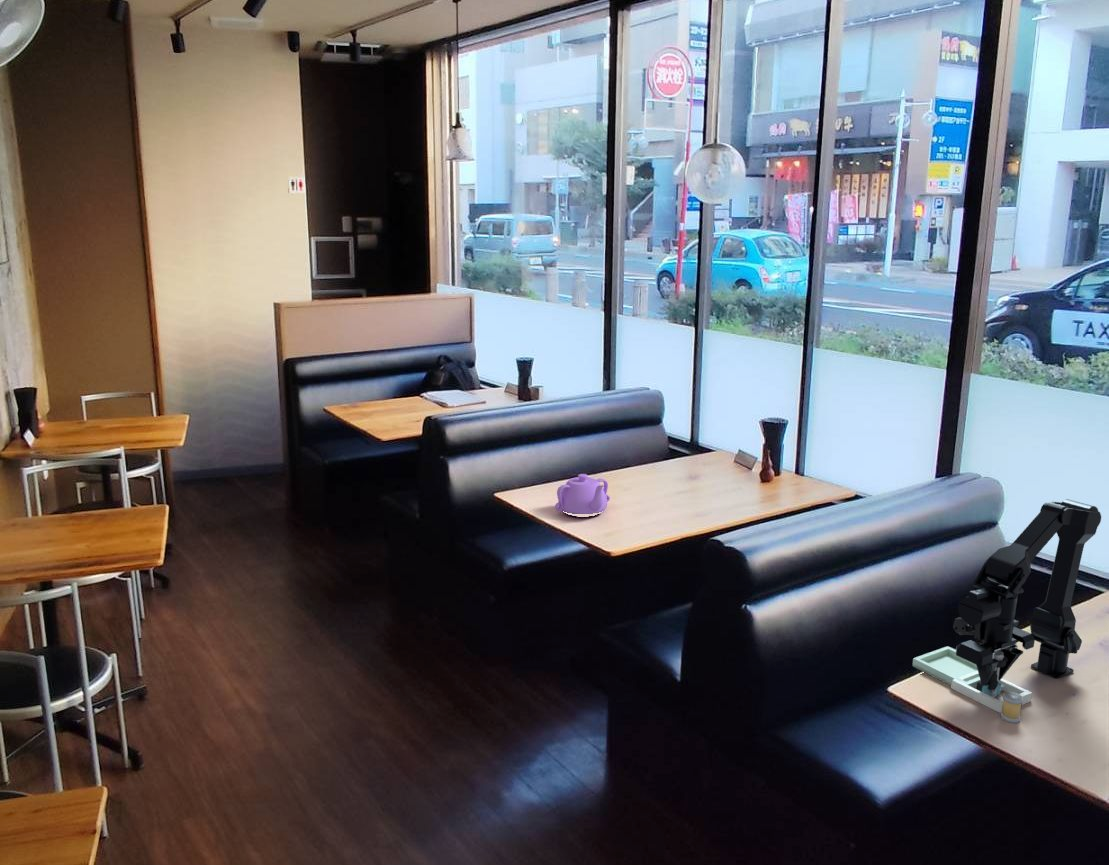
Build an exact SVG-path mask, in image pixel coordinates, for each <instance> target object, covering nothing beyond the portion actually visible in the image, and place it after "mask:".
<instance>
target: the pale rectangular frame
mask: <svg viewBox="0 0 1109 865" xmlns="http://www.w3.org/2000/svg"><path fill="white" fill-rule="evenodd" d="M977 677H979V673H978V670H977V671H975V672H972V673H969V674H967V675H964V676H961V677H959V678H960V679H962V680H964V681H966V682H967V681H969V680H972V679H974V678H977ZM998 683H1000V684H1001V685H1003V686H1004V687H1001V689H1003V691H1004V693H1005V692H1014V693H1017V694H1019V695H1021V696H1022V697H1023V702H1022V703H1021V707H1022V706H1023V705H1025V704H1027V703H1029V702H1032V697H1033V696H1032V695H1033V692H1032V691H1030V690H1028V689H1025V688H1023V687H1021V686H1018V685H1016V684H1014V683H1012V682H1010V681H1009V680H1006V679H1004V678H1002V679H1001V680H999V681H998ZM950 687H951V688H950V689H952V690H954V691H955V692H957V693H960V694H962V695H964V696H965V697H967V698H970V699H972V700H973V701H976V702H977V703H980V704H982V705H983V706H985V707H987V708H989V709H991V710H994V711H995V712H997V713H999V714H1001V712H1002V710H1003V701H1004V700H999V699H997V698H996V697H992V696H989V695H987V694H985V693H983V692H981V691H979V690H977V689H975V688H973V687H971V686H969V685H967V684H964V683H962V682H960V681H958V680H956V679H954V680H952V686H951V685H950ZM1001 689H1000V690H1001Z"/></svg>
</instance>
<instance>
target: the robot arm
mask: <svg viewBox="0 0 1109 865" xmlns="http://www.w3.org/2000/svg"><path fill="white" fill-rule="evenodd" d="M1101 522H1102V514H1101V512H1100V511H1099V508H1098V507H1097V506H1095V505H1091V504H1087V503H1084V502H1079V501H1076V500H1073V499H1069V498H1066V499H1064V500H1062V502H1061V501H1051V502H1050V501H1049V502H1044V503H1043V504H1042V505H1041V508H1040V511H1039V513H1038V514H1037V515H1036V516H1035V517H1034V518H1033V519H1032V521H1031V522H1030V523H1029V524H1028V525H1027V526H1026V528H1024V530H1023V531H1022V532H1021V533H1020V534H1019V535H1018V536H1017V537H1016V539H1015V540H1014V541H1013V542H1012V543H1011V544H1010V545H1006V546H1004V547H1000V548H998V549H997V550H996V551H995V552H993V553H992V554H991V555H990V556H989V557H988V558H987V559H986V560H985V562H984V563H983V565H982V567H981V569H980V570H979V573H978V574H977V576H976V578H975V580H974V581H973V583H972V586H973V587H976V588H978V589H976V590H975V589H974V590H969V591H968V596H966V597H965V596H964V597H963V598H961V600H960V601H959V603H958V605H957V610H958V615H959V617H957V618H955V619H954V621H953V622H954V623H953V626H952V627H953V629H954V632H956V633H957V634H959V636H965V635H967V636H974V637H973V638H974V639H976V640H978V641H982V642H981V643H979V642H977V641H974V640H972V639H970V640H966V641H963V642H960V643H958V644H957V645H956V646H955V647H956V648H955V650H956V655H957V656H959V657H961V658H963V659H965V660H968V661H970V662H972V663H974V664H976V666H977V669H978V673H979V677H980V680H981V683H982V684H983V685H987V684H988V682H989V680H990V678H991V676H992V674H993V672H994V670H995V668H996V666H997V664H998V662H999V661H998V660H996V659H994V654H995V651H998V650H1001V651H1002V652H1003V653H1004V655H1005V656H1006V657H1007V658H1008V660H1007V662H1006V665H1005V666H1004V667H1001V668H1000V671H999V678H998V679H999V680H1001V679H1003V677H1004V676H1005V675H1006V674H1007V672H1008V671H1009V670H1010V668H1011V667H1012V666H1013V665H1014V664H1015V663H1016V661H1017V660H1018V659H1019V657H1021V655H1023V654H1024V650H1026V651H1027V650H1030V649H1032V648H1034V647H1035V642H1038V643H1040V645H1039V652H1038V657H1037V662H1034V663H1031V664H1030V668H1033V669H1035V670H1036V671H1039V672H1041V673H1044V674H1045V675H1048V676H1050V677H1052V678H1055V679H1060V678H1062V677H1064V676H1067V675H1070V674H1072V673H1074V671H1075V670H1074V669H1073V668H1072V667H1069V666H1068V664H1069V657H1070V655H1071V654H1074V655H1076V654H1078V651H1079V650H1080V649H1081V646H1082V643H1083V640H1082V638H1081V637H1080V635H1079V634H1078V633H1077V631H1076V622H1077V619H1076V617H1075V614H1074V611H1073V609H1072V606H1071V605H1072V602H1073V597H1074V591H1075V588H1076V587H1075V586H1076V582H1077V578H1078V575H1079V571H1080V570H1079V569H1080V566H1081V565H1080V564H1081V561H1082V557H1083V551H1084V547H1085V545H1086V543H1087V542H1088V541H1089V540H1090V539H1091V538H1092V537H1094V536H1095V535H1096V533H1097V530H1098V527H1099V525H1100V524H1101ZM1054 535H1057V538H1058V542H1057V547H1056V552H1055V556H1054V561H1053V566H1052V571H1051V575H1050V580H1049V585H1048V589H1047V594H1046V597H1045V601H1043V603H1042V604H1040V605H1039V606H1038V607H1034V608H1033V610H1032V617H1031V620H1030V622H1029V627H1030V632H1028V631H1026V630H1023V629H1022V628H1018V626H1019V622H1020V621H1019V620H1016V619H1015V618H1016V611H1017V610H1016V609H1017V603H1018V597H1019V596H1018V595H1020V594H1022V593H1024V591H1025V590H1024V589H1023V588H1022V586H1023V585H1024V584H1025V582H1026V581H1027V579H1028V577H1029V576H1030V574H1031V573H1032V572H1031V570H1032V569H1031V568H1032V566H1031V565H1032V564H1031V563H1032V562H1033V560H1034V559H1035V558H1036V556H1038V555H1039V553H1040V552H1041V551H1042V550H1043V549H1044V548H1045V546H1046V545H1047V544H1048V542H1049V541H1050V540H1052V538H1053V537H1054ZM988 580H989V581H988ZM990 581H991V582H990ZM993 582H994V583H993ZM996 583H997V584H996ZM998 584H999V585H998ZM1017 643H1022V645H1021V646H1022V648H1023V649H1024V650H1021V649H1019V648H1018V647H1019V645H1017Z"/></svg>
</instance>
